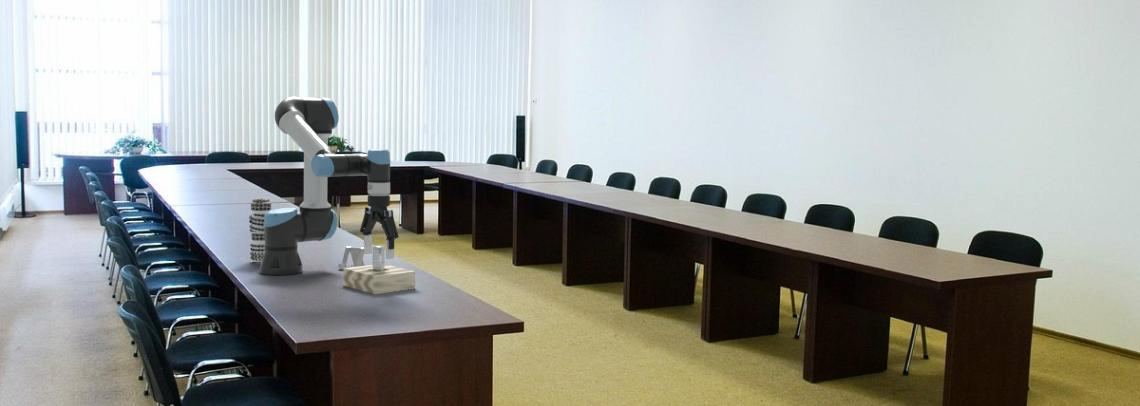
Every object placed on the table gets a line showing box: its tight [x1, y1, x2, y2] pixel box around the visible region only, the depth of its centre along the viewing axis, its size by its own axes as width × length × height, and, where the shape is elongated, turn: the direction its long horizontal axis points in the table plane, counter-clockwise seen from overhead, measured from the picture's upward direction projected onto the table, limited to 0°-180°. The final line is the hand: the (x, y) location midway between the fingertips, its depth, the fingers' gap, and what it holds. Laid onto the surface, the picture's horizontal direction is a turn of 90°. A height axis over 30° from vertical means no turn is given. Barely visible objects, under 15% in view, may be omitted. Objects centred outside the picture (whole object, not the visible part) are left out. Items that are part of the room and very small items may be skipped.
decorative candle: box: [248, 197, 272, 263], centre depth 374 cm, size 9×9×25 cm
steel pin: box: [372, 245, 386, 272], centre depth 327 cm, size 4×4×14 cm
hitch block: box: [342, 263, 416, 295], centre depth 327 cm, size 20×16×6 cm
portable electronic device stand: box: [337, 245, 365, 271], centre depth 361 cm, size 9×8×8 cm
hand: (378, 256), depth 326 cm, fingers open, 13 cm apart
